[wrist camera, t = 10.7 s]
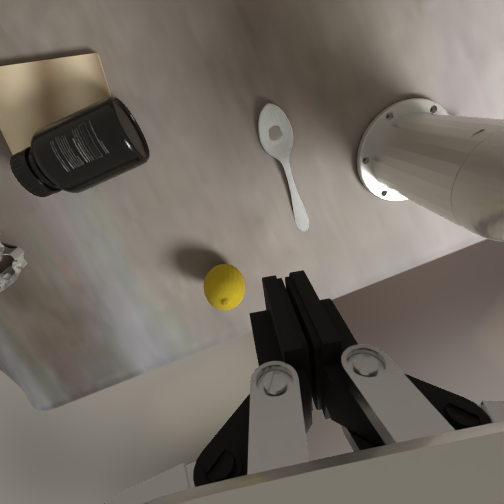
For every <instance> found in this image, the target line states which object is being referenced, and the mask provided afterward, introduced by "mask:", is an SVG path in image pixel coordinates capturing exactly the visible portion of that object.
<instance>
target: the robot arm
mask: <svg viewBox="0 0 504 504" xmlns="http://www.w3.org/2000/svg"><path fill="white" fill-rule="evenodd" d="M387 115H388V116H387ZM386 116H387V118H386ZM363 158H364V160H363ZM357 170H358V174H359V177H360V180H361V181H362V183H363V185H364V186H365V188H366V189H367V190H368V191H369V192H371V193H372V194H374V195H375V196H377V197H379V198H381V199H384V200H388V201H401V200H407V199H409V200H411V201H413V202H415V203H417V204H419V205H421V206H423V207H425V208H427V209H428V210H430V211H432V212H434V213H436V214H438V215H440V216H442V217H444V218H446V219H448V220H449V221H451V222H453V223H455V224H457V225H459V226H461V227H463V228H465V229H467V230H469V231H471V232H473V233H475V234H477V235H479V236H482V237H484V238H488V239H491V240H496V241H504V120H501V119H489V118H477V117H465V116H453V115H449V114H448V112H447V111H446V110H445V109H444V108H443V107H442V106H441V105H440V104H438V103H436V102H434V101H432V100H428V99H423V98H412V99H405V100H402V101H399V102H396V103H394V104H392V105H391V106H389V107H387V108H386V109H384V110H383V111H382V112H381V113H380V114H378V115H377V116H376V117H375V119H374V120H373V121H372V122H371V123H370V124H369V126H368V128H367V129H366V131H365V132H364V134H363V137H362V139H361V141H360V144H359V148H358V152H357ZM262 282H263V289H264V297H265V304H266V310H265V311H260V312H254V313H250V319H251V324H252V330H253V336H254V341H255V347H256V353H257V358H258V363H259V367H258V368H257V369H256V370H255V371H254V373H253V374H252V377H251V384H250V394H249V396H248V397H247V398H246V399H245V400H244V401H243V403H242V404H241V405H240V406H239V407H238V409H237V410H236V411H235V413H234V414H233V415H232V416H231V417H230V418H229V420H228V421H227V422H226V423H225V425H224V426H223V427H222V428H221V429H220V431H219V432H218V433H217V435H215V437H214V438H213V439H212V440H211V442H210V443H209V444H208V445H207V447H206V448H205V449H204V450H203V451H202V453H201V454H200V456H199V457H198V459H197V461H195V462H194V463H191V464H189V465H187V466H185V464H184V463H182V464H180V465H178V466H176V467H174V468H171V469H169V470H167V471H165V472H163V473H161V474H159V475H156V476H154V477H152V478H150V479H148V480H146V481H143V482H141V483H139V484H137V485H135V486H133V487H131V488H129V489H126V490H124V491H122V492H120V493H118V494H116V495H114V496H113V497H111V498H110V499H108V500H107V501H106V502H105V503H104V504H504V401H482V402H481V405H477V404H475V403H474V402H471V401H470V400H468V399H466V398H464V397H461V396H459V395H456V394H454V393H451V392H449V391H446V390H444V389H441V388H439V387H436V386H433V385H431V384H429V383H426V382H424V381H421V380H419V379H416V378H414V377H411V376H409V375H406V374H404V373H403V372H402V371H401V370H400V369H399V368H398V367H397V366H396V365H395V364H394V362H393V361H392V360H391V359H390V358H389V357H388V356H387V355H386V354H385V353H384V352H383V351H382V350H380V349H378V348H376V347H374V346H370V345H366V344H357V342H356V340H355V339H354V337H353V335H352V334H351V332H350V330H349V329H348V327H347V325H346V323H345V322H344V320H343V318H342V317H341V315H340V313H339V312H338V310H337V309H336V307H335V305H334V304H333V302H332V300H331V299H324V300H319V298H318V296H317V294H316V292H315V291H314V289H313V287H312V285H311V283H310V281H309V279H308V278H307V276H306V274H305V272H304V271H303V270H302V271H297V272H291V273H290V274H289V277H285V284H286V288H285V285H284V283H283V280H282V278H278V279H277V278H276V276H269V277H264V278H262ZM312 398H313V401H314V404H315V406H316V409H317V410H320V409H322V410H323V413H324V416H325V419H328V418H331V419H332V420H333V421H335V422H337V423H339V424H340V425H341V428H342V431H343V433H344V435H345V437H346V439H347V441H348V442H349V444H350V446H351V448H352V449H353V451H354V452H351V453H346V454H341V455H337V456H332V457H327V458H323V459H319V460H313V461H309V455H308V447H307V440H306V433H307V431H308V430H309V428H310V426H311V425H312V412H311V411H312V410H313V408H312Z"/></svg>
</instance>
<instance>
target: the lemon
mask: <svg viewBox="0 0 504 504" xmlns="http://www.w3.org/2000/svg"><path fill="white" fill-rule="evenodd" d="M204 292H205V296H206V298H207V300H208V302H209V303H210V304H211V305H212V306H213V307H215V308H217V309H219V310H230V309H232V308H234V307H236V306H237V305H238V304H239V303H240V302H241V300H242V298H243V296H244V293H245V282H244V278H243V276H242V274H241V272H240V271H239V270H238V269H237V268H236V267H234V266H232V265H229V264H220V265H217V266H215V267H213V268H212V269H211V270H210V271H209V272H208V273H207V275H206V277H205V280H204Z"/></svg>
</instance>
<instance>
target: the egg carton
mask: <svg viewBox="0 0 504 504" xmlns="http://www.w3.org/2000/svg"><path fill="white" fill-rule="evenodd" d="M2 255H10V256H12V257H13V258H14V261H13V263H12V265H11V266H9V267H8V268H7V269H5V270H4V271H3V272H2V273H0V292H2V291H3V290H4V289H6V288H7V287H9V286H10V285H11V284H13V283H14V282H15V281H16V280H17V278H18V276H19V274H20V271H21V269H22V268H23V267H24V266H25V265H26V264H27V262H26V261H25V260H24V258H23V255H24V251H23V250H21V249H20V248H19V247H17V248H8V247H5V246H4V245H2V244H1V242H0V261H1V260H2Z"/></svg>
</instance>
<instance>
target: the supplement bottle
mask: <svg viewBox="0 0 504 504" xmlns="http://www.w3.org/2000/svg"><path fill="white" fill-rule="evenodd" d="M148 159H149V149H148V145H147V142H146V140H145V137H144V135H143V133H142V131H141V129H140V127H139V125H138V124H137V122H136V120H135V119H134V117H133V115H132V114H131V113H130V111H129V110H128V108H127V107H126V106H125V105H124V104H123V103H122V102H121V101H120V100H119V99H118V98H115V97H107V98H104V99H102V100H100V101H98V102H95V103H93V104H91V105H89V106H87V107H85V108H83V109H81V110H79V111H76V112H74V113H72V114H70V115H68V116H66V117H64V118H62V119H60V120H57V121H55V122H53V123H51V124H49V125H47V126H45V127H43V128H41V129H39V130H37V131H36V132H35V133H34V134H33V136H32V138H31V143H30V147H27V148H25V149H23V150H22V151H20V152H18V153H16V154H14V155H13V156H12V157H11V160H10V162H11V163H10V165H11V169H12V172H13V174H14V175H15V177H16V178H17V180H18V182H20V184H21V185H22V186H23V187H24V188H25V189H26V190H28V191H29V192H30V193H32V194H33V195H36V196H39V197H46V196H49V195H51V194H54V193H58V192H60V191H61V190H64V191H67V192H71V193H79V192H82V191H85V190H87V189H89V188H91V187H94V186H96V185H98V184H100V183H103V182H105V181H107V180H109V179H111V178H114V177H116V176H118V175H120V174H123V173H125V172H127V171H129V170H131V169H134V168H136V167H138V166H140V165H142V164H144V163H146V162H147V161H148Z"/></svg>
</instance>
